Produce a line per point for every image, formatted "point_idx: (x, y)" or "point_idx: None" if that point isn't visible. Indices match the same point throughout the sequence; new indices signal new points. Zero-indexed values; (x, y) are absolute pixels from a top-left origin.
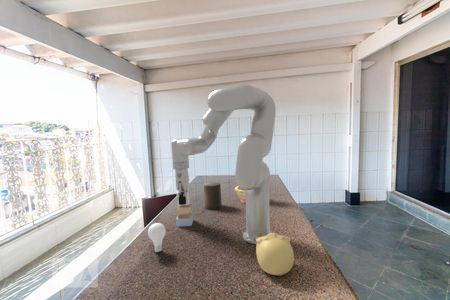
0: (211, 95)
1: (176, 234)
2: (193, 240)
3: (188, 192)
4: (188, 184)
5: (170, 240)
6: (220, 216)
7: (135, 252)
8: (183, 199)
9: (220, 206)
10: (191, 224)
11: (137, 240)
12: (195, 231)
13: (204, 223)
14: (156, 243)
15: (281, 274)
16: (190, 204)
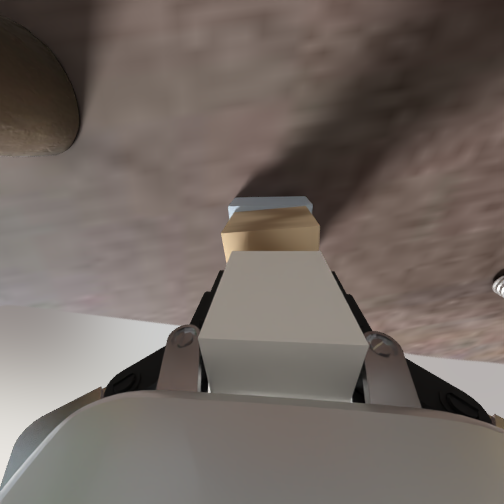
0: None
1: (378, 246)
2: (480, 158)
3: (234, 313)
4: (247, 498)
5: (426, 258)
6: (181, 5)
7: (462, 335)
8: (363, 316)
9: (9, 19)
10: (301, 197)
11: None
12: (377, 164)
13: (286, 125)
14: None
15: None
16: (244, 234)
